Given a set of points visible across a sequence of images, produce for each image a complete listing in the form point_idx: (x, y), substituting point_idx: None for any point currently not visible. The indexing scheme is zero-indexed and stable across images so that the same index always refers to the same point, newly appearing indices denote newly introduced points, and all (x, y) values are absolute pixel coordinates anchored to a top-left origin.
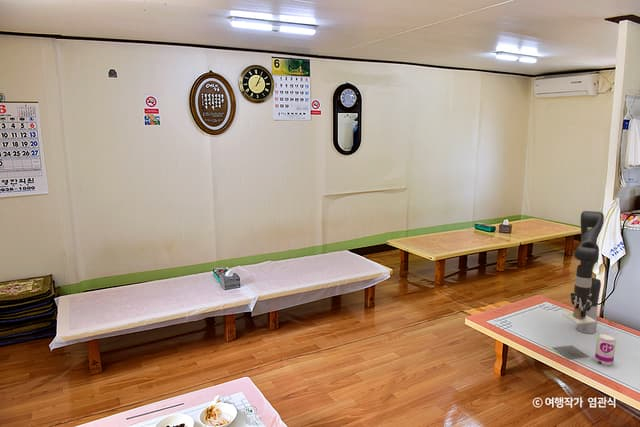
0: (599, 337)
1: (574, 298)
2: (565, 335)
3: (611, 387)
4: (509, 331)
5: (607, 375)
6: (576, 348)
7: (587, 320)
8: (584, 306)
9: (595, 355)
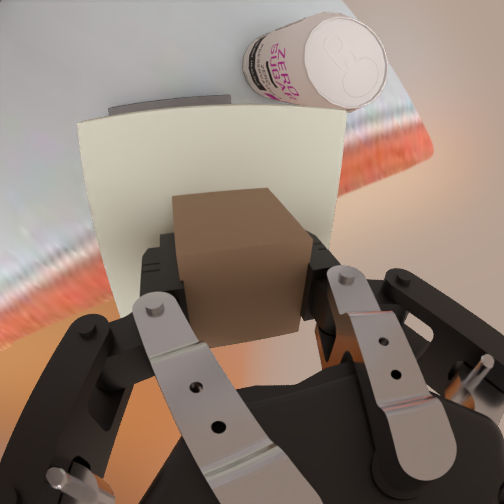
0: (332, 105)
1: (93, 445)
2: (6, 84)
3: (395, 170)
4: (3, 298)
5: (349, 125)
6: (141, 105)
7: (312, 197)
8: (335, 323)
9: (271, 97)
